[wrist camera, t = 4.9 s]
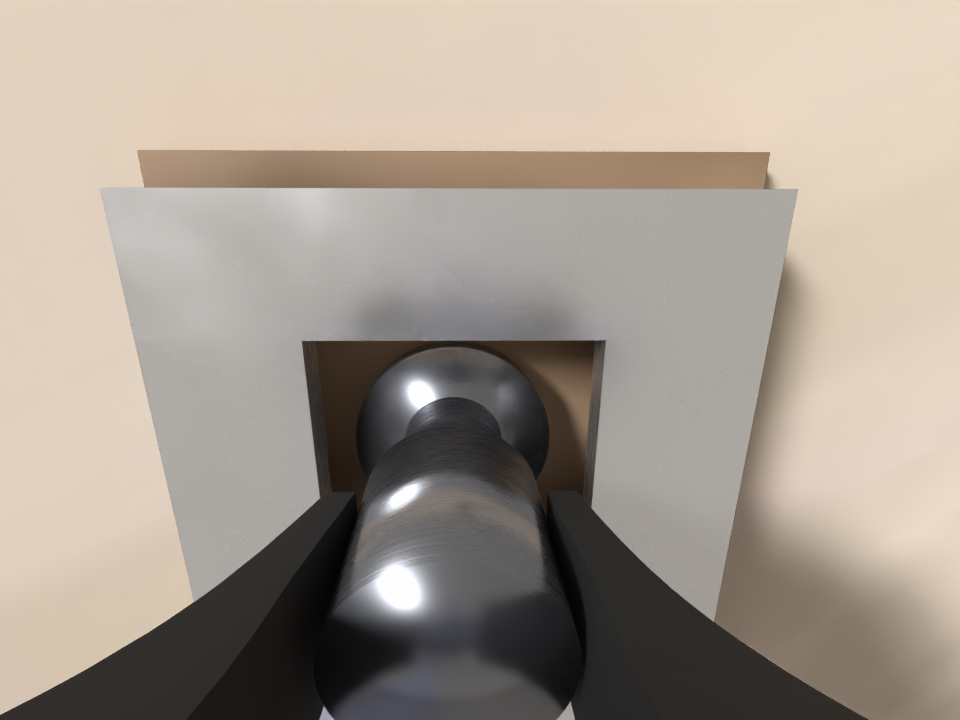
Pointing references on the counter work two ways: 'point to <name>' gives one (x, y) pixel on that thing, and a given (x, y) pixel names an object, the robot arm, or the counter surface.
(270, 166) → the keyhole board
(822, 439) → the counter surface
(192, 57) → the counter surface
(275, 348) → the keyhole plate
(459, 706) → the dark grey knob
